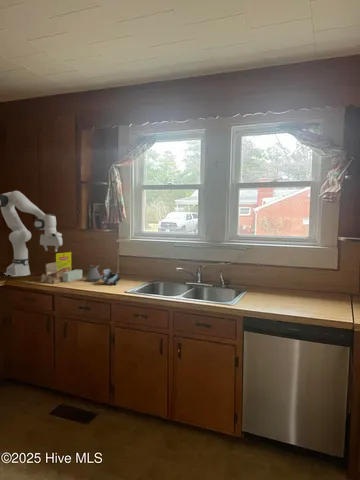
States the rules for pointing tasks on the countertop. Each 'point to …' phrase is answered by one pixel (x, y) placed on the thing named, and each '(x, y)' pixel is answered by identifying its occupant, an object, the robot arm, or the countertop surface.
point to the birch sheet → (51, 268)
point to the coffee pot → (94, 273)
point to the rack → (50, 279)
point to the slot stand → (72, 275)
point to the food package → (63, 261)
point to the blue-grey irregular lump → (109, 277)
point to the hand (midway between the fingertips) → (51, 251)
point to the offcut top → (57, 274)
